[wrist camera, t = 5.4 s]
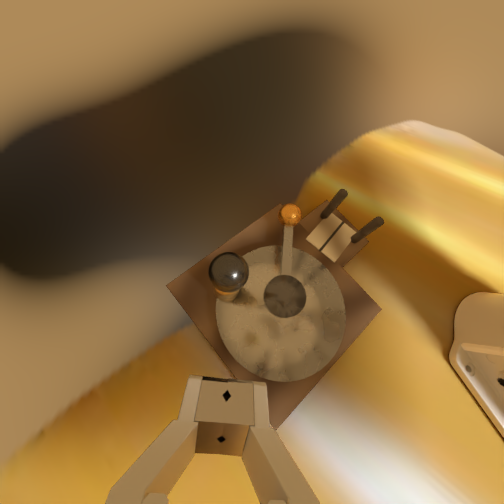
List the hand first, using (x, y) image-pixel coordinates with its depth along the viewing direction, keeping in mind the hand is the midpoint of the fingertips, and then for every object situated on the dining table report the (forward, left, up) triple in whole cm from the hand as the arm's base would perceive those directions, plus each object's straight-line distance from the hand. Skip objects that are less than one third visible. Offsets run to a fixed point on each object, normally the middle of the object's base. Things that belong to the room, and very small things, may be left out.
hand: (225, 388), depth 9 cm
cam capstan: (+6, -9, -19) cm, 22 cm away
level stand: (+6, -12, -21) cm, 25 cm away
